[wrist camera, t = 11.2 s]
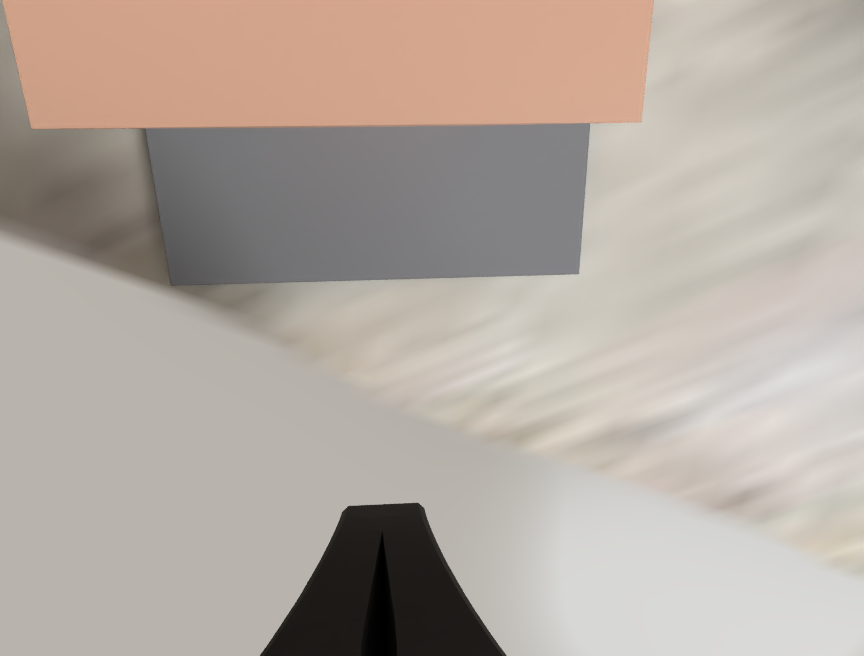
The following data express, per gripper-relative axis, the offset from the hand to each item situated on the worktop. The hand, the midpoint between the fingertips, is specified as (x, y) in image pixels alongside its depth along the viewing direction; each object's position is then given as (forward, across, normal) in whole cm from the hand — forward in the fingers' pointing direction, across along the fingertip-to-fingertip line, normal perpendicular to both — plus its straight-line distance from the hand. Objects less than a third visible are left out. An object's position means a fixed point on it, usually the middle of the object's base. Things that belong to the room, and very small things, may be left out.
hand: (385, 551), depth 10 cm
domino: (+4, 0, -8) cm, 9 cm away
